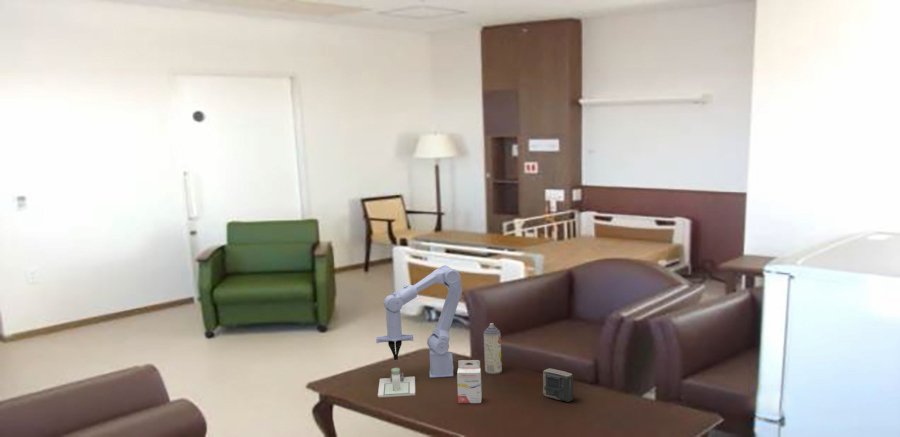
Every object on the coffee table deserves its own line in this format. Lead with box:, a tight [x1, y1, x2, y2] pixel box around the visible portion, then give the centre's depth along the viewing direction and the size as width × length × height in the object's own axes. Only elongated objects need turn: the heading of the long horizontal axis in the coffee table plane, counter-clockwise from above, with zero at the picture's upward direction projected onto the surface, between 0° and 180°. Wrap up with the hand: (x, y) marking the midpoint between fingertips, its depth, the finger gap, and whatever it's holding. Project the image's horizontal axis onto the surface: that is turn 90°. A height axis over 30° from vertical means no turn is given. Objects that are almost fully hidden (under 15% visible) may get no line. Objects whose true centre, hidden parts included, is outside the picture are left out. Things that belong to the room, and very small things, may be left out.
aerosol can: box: [483, 322, 503, 375], centre depth 289 cm, size 7×7×20 cm
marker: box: [390, 367, 401, 391], centre depth 273 cm, size 3×3×8 cm
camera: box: [542, 367, 574, 403], centre depth 259 cm, size 11×6×10 cm, turn 47°
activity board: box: [377, 372, 416, 398], centre depth 277 cm, size 14×18×3 cm
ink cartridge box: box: [456, 359, 483, 404], centre depth 260 cm, size 9×5×15 cm, turn 84°
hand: (396, 359), depth 283 cm, fingers closed
